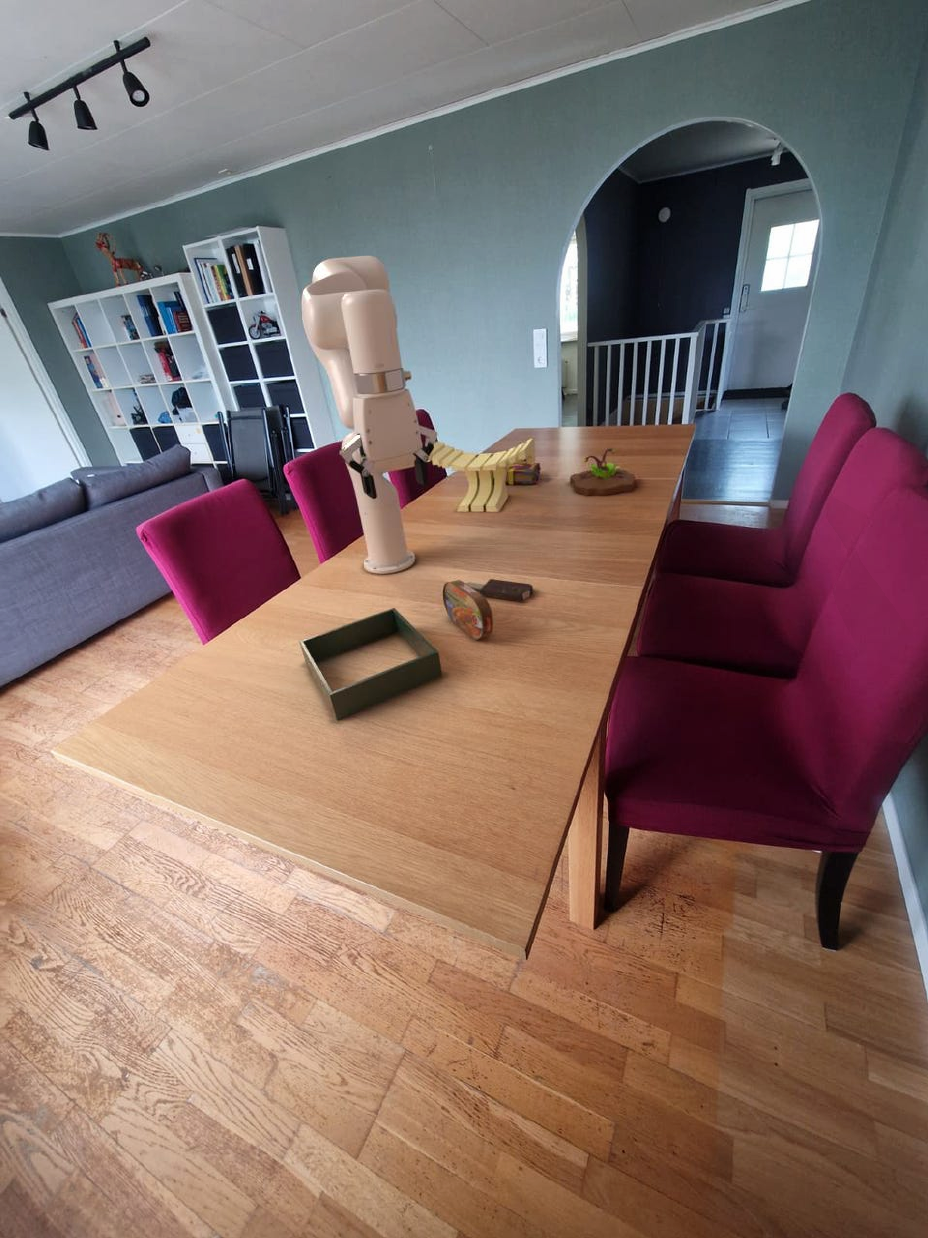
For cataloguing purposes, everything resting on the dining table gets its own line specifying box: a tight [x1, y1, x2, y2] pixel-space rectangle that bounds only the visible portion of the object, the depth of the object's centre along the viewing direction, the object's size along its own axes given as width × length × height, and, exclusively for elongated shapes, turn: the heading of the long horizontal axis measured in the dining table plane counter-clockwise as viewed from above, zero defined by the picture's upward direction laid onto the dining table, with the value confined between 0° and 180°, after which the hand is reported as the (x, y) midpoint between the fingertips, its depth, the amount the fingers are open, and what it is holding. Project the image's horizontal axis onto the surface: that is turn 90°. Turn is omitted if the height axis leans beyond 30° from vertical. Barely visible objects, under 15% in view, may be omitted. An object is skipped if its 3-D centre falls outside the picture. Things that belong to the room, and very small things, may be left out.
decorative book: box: [505, 462, 542, 485], centre depth 175 cm, size 11×16×5 cm
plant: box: [569, 448, 637, 496], centre depth 159 cm, size 20×20×11 cm
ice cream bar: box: [465, 578, 534, 603], centre depth 107 cm, size 5×2×15 cm
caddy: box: [298, 607, 443, 722], centre depth 87 cm, size 18×18×5 cm
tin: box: [442, 579, 494, 641], centre depth 95 cm, size 15×3×8 cm, turn 30°
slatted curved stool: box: [427, 437, 536, 513], centre depth 154 cm, size 30×16×18 cm, turn 74°
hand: (397, 490), depth 89 cm, fingers open, 9 cm apart
